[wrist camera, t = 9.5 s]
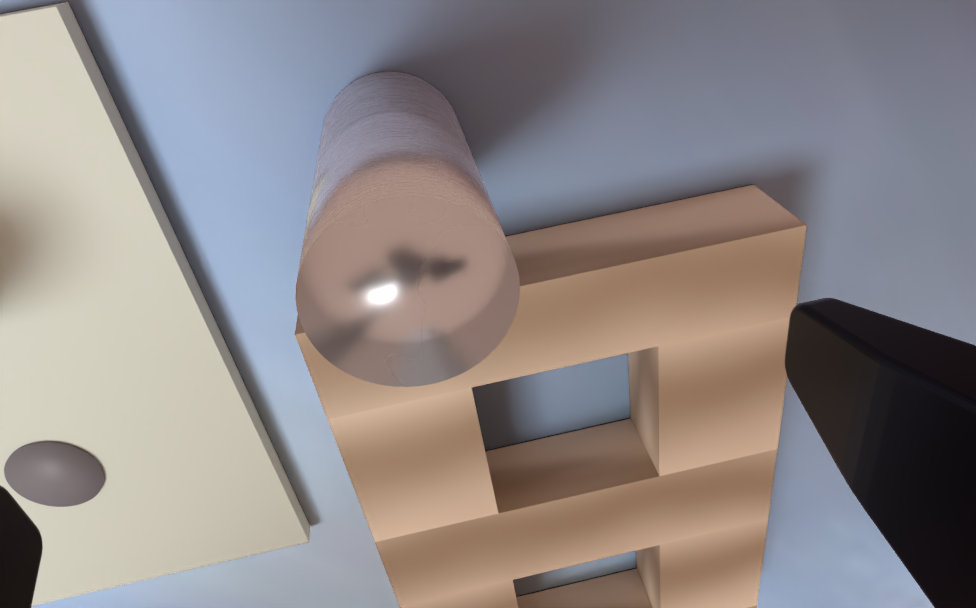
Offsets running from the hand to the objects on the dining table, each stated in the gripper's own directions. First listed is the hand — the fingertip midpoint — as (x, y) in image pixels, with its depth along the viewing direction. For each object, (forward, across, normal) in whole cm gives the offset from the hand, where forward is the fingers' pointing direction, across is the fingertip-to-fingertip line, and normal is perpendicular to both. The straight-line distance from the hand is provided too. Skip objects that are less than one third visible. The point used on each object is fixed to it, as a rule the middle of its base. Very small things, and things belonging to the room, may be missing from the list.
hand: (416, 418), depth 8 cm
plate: (+9, +11, +4) cm, 15 cm away
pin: (+9, 0, 0) cm, 9 cm away
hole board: (+9, -3, +12) cm, 15 cm away
